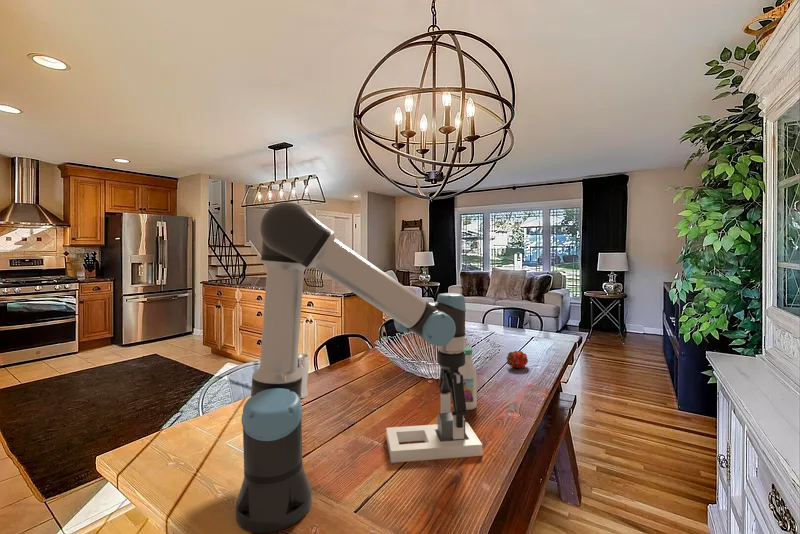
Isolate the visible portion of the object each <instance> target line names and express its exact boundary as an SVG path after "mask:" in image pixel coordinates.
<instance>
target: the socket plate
mask: <svg viewBox="0 0 800 534" xmlns="http://www.w3.org/2000/svg"><path fill="white" fill-rule="evenodd" d="M385 433H386V443H387V449H388V454H389V458H390V459H389V460H390V463H403V462H404V463H405V462H418V461H420V462H421V461H430V460H431V461H432V460H441V459H442V460H443V459H456V458H457V459H458V458H469V457H482V456H483V443H482V442H481V441H480V439H479V437H478V436H477V434H476V433H475V432H474V430H473V429H472V427H471V426H470V424H469V423H468V422H467V421H465V440H455V441H442V442H440V440H439V438H438V423H437V424H436V423H435V424H424V425H423V424H422V425H410V426H409V425H408V426H393V427H391V426H390V427H386V430H385ZM419 441H420V442H419ZM421 441H422V442H421ZM423 441H424V442H423ZM407 442H408V443H407ZM409 442H413V443H409ZM414 442H415V443H414ZM400 443H403V444H400Z"/></svg>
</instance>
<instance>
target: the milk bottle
mask: <svg viewBox="0 0 800 534" xmlns="http://www.w3.org/2000/svg"><path fill="white" fill-rule="evenodd" d="M464 351H465V365H464V366H462V367H459V368H458V370H459V372H460V375H463V387H464V395H465V403H466V410H467V411H470V410H475V409H476V408H477V406H478V403H477V402H478V393H477V392H478V378H477V375H478V374H477V369H476V367H475V364H474V361H473V359H472V356H473V349H472V348H471V347H468V346H467V347H466V346H465V349H464Z"/></svg>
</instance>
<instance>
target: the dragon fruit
mask: <svg viewBox="0 0 800 534" xmlns="http://www.w3.org/2000/svg"><path fill="white" fill-rule="evenodd" d="M506 361H507V362H506V364H507V365H508V366H509V367H511V368H512V369H513V370H515V369H516V368H518V369H521V370H523V369H525V367H526V365H528V362H529V360H528V355H527V354H526V353H524V352H523V351H521V350H519V351H518V350H515V351H510V352H508V354H507V356H506Z"/></svg>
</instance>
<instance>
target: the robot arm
mask: <svg viewBox="0 0 800 534" xmlns="http://www.w3.org/2000/svg"><path fill="white" fill-rule="evenodd" d="M259 230H260V236H261V238H262V242H261V255H260V262H261V263H262V264H263V265H264V266H265V267H266V280H265V289H264V290H265V293H264V305H263V306H264V307H263V308H264V309H263V318H262V319H263V320H262V331H261V333H262V334H261V343H260V344H261V346H260V347H261V348H260V358H259V359H260V361H259V368H257V369H256V370H255V371H254V372H253V373H252V378H251V379H252V380H251V389H250V391H251V392H250V396H249V397H248V399H246V401H245V403H244V405H243V408H242V414H241V425H242V435H243V436H242V438H243V439H242V440H243V441H242V444H243V448H242V449H243V475H244V476H243V480H242V483H241V487H240V490H239V493H238V497H237V500H236V503H235V520H236V523H237V524H238V525H239V527H240V528H241V529H243V530H245V531H247V532H250V533H255V534H256V533H257V534H269V533H275V532H278V531H282V530H284V529H287V528H290V527H291V526H293V525H295V524H296V523H298V522H299V521H301V520H302V519H304V517H305V516H306V515H307V514H308V512H309V511H310V509H311V507H312V504H313V503H312V502H313V501H312V499H313V497H312V489H311V485H310V483H309V480H308V477H307V474H306V472H305V469H304V466H303V465H304V464H303V433H302V432H303V431H302V430H303V427H302V426H303V424H302V421H303V419H302V417H303V406H302V401H301V388H302V373H301V372H300V371H299V370H298V368H297V357H298V354H299V342H300V341H299V340H300V331H301V330H300V328H301V316H302V314H301V313H302V305H303V304H302V303H303V300H302V299H303V290H304V279H305V278H304V277H305V276H304V275H305V270H307V269H311V268H312V269H313V268H315V269H316V270H318V271H320V272H321V273H322V274H325V275H326V276H327V277H329V278H331V279H332V280H334V281H335V282H336V283H338V284H340V285H341V286H342V287H344V288H346V289H347V290H349V291H351V292H352V293H353V294H355V295H357V296H358V297H359V298H361V299H362V300H364V301H365V302H367V303H369V305H371V306H373V307H375V308H376V309H378V310H379V311H381V312H383V313H384V314H386V315H387V316H388V317H390V318H392V320H393V323H394V327H395V330H396V331H397V332H398V333H406V334H408V333H413V334H415V335H417V336H419V338H421V339H423V340H424V341H425V342H427V343H428V344H430V345H433V346H435V347H436V346H437V349H438V351H437V364H438V365H439V366H440V375H439V381H438V388H439V391H440V413H452V415H453V439H464V419H465V416H467V415H468V410H466V403H465V395H464V387H463V375H460V372H459V370H458V368H459V367H462V366H464V365H465V351H464V349H465V347H466V342H467V341H468V337H466V312H467V310H466V299H465V296H464V295H463V294H461V293H457V292H456V293H455V292H444V293H438V295H437V298H436V301H431V302H427V301H426V300H425V299H423V298H422V297H420V296H419V294H416V293H414V292H413V291H411V289H409V288H408V287H406V286H405V285H403V284H402V283H400V282H399V281H397V280H396V279H395V278H393V277H392V276H390V275H389V274H387V273H386V272H384V271H383V270H381V269H380V268H379V267H377V266H376V265H374V264H373V263H372V262H370V261H369V260H367V259H365V258H364V257H363V256H361V255H360V254H358V253H357V252H355V251H354V250H353V249H351V248H350V247H348V246H347V245H345V244H344V243H343V242H341V241H339V239H337V238H335V232H334V230H333V229H331V228H329V227H328V226H326V224H323V222H321V221H320V220H319V219H317V217H316V216H314V215H313V213H311V212H310V211H309V210H307V209H306V208H305V207H303V206H301V204H298V203H294V202H289V201H287V202H279V203H277V204H274V205H273V206H271V207H269V208H268V209H267V210H266V211H265V213H264V214H263V215H262V218H261V221H260V228H259ZM451 401H452V408H453V411H452V412H451Z"/></svg>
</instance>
